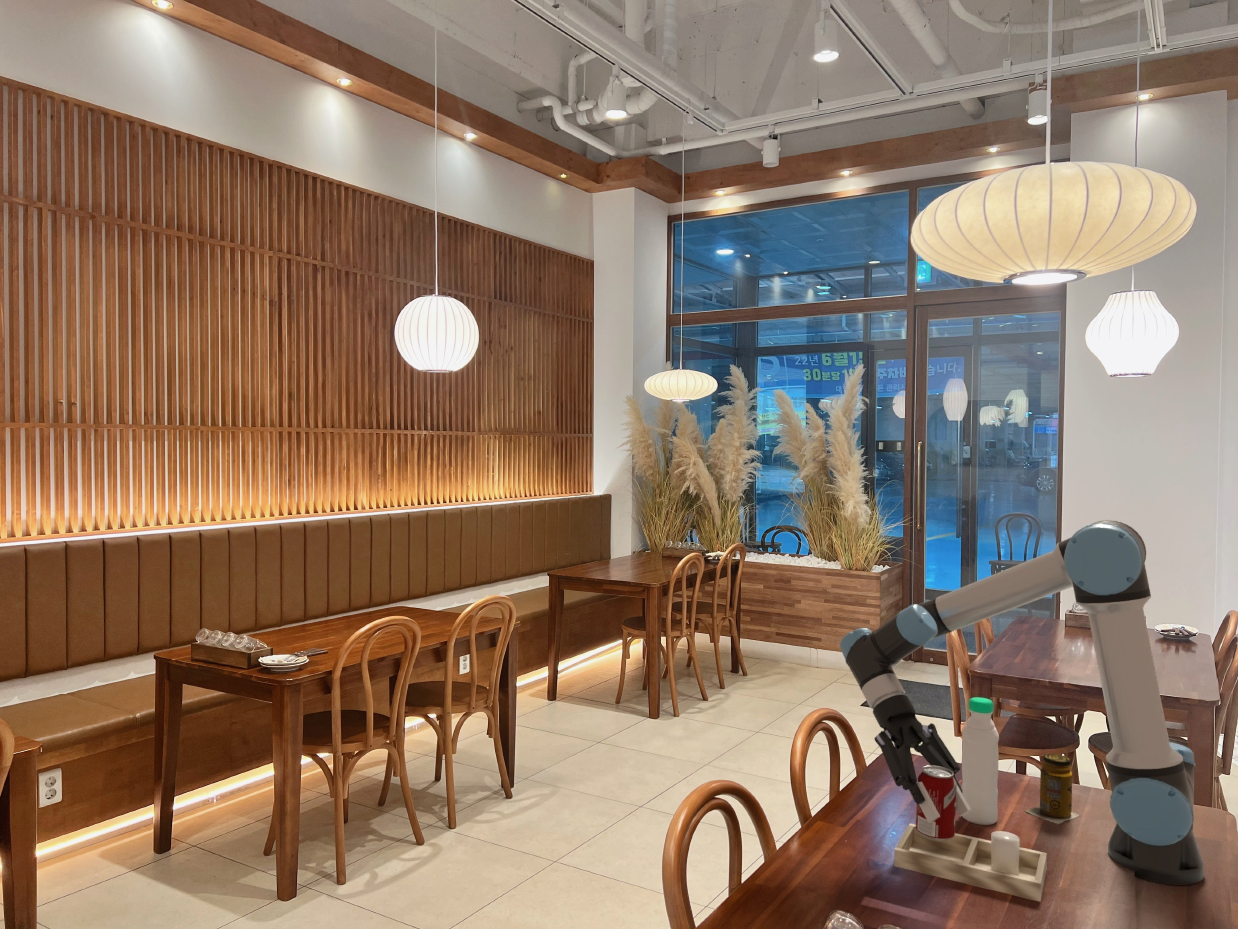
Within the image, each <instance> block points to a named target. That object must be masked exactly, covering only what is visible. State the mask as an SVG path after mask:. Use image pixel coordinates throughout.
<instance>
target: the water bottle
mask: <svg viewBox="0 0 1238 929" xmlns="http://www.w3.org/2000/svg"><path fill="white" fill-rule="evenodd" d="M968 711H969V712H970V717H969V718H968V719H967V720H966V723H965V725H964V727H963V729H962V738H963V740H962V748H961V750H962V751H961V753H962V754H961V774H962V775H961V777H962V783H961V789H962V791H963V793H962V794H963V796H964V798H965V800H966V802H967V803H968V805H969V807H970V809H971V810H970V811H969V812H967V813H966V814H964V815H963V816H962V818H963V819H964V820H965V821H967V822H969V823H971V824H975V825H981V826H989V825H993V824H995V823H997V821H998V818H999V817H998V816H999V813H998V812H999V811H998V810H999V809H998V799H999V792H998V791H999V790H998V781H999V780H998V779H999V745H998V744H999V741H1000V735H999V732H998V730H997V728H996V726H995V722H994V720H992V714H994V713H993V712H994V702H993V701H992V700H991V699H989V698H985V697H979V696H978V697H971V698H970V699H968Z"/></svg>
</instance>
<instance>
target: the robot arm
mask: <svg viewBox="0 0 1238 929" xmlns="http://www.w3.org/2000/svg"><path fill="white" fill-rule="evenodd" d="M1146 558H1147V548H1146V544H1145V542H1144V539H1143V538H1142V536H1141V535H1140V534H1139V532H1138V531H1136V530H1135V528H1133V527H1132V526H1131V525H1128V524H1126V523H1124V522H1122V521H1117V520H1109V519H1107V520H1106V519H1105V520H1099V521H1095V522H1093V523H1091V524H1088V525H1086V526H1083V527H1081V528H1080V529H1078V530H1077V531H1075V533H1073V535H1071V537H1069V538H1067V539H1065V540H1062V541H1059V542H1057V543H1056V545H1055V548H1054V549H1053V550H1052V551H1050V552H1046V553H1043V554H1041V555H1039V556H1037V557H1034V558H1031V559H1029V560H1026V561H1024V562H1022V563H1020V564H1016V565H1014V566H1012V567H1009V568H1007V569H1004V570H1002V571H999V572H997V573H993V574H992V575H989V576H987V577H985V578H982V579H980V580H977V581H974V582H972V583H969V584H966V585H964V586H962V587H960V588H956V589H954V590H953V591H949V592H947V593H945V594H942V595H939V596H938V597H936V598H933V599H930V600H928V601H924V602H920V603H917V604H915V603H914V604H910V605H909V606H907V607H906V608H904V609H902V610H900V611H899V612H898V613H897V614H896V615H894V616H893V617H891V618H890V619H889V620H887V621H886V622H885V623H884V624H883V625H881V626H879V627H878V628H877V629H875V630H873V631H872V630H871V629H870V628H866V627H860V628H856V629H854V630H853V631H850V632H848V633H847V634H845V635H844V636H843V637H842V638H841V640H840V641H839V642H840V643H839V648H840V651H841V653H842V656H843V657H844V660H845V664H846V665H847V666H848V668H849V670H850V671H851V673H852V675H853V677H854V678H855V681H856V683H857V685H858V686H859V689H860V690H861V693H862V695H863V696H864V697H863V698H864V699H865V700H866V702H867V704H868V706H869V708H870V709H871V710H872V714H873V715H874V716H873V717H874V718H875V720H876V722H877V724H878V725H879V728H881V729H883V730H881V731H879V733H878V734H877V735H876V736H875V737H874V741H875V743H876V744H877V745H878V747H879V748H880V749H881V752H882V754H883V757H884V759H885V762H886V764H887V766H888V769H889V771H890V774H891V776H892V778H893V781H894V783H895V785H896V786H897V787H902V788H903V790H904V791H908V792H910V795H911V797H912V799H913V801H914V803H915V804H916V805H917V804H919V805H920V807H921V809H922V811H923V813H924V815H925V817H926V819H927V821H928V823H932V822H934V821H935V820H936V819H937V818H939V817H940V815H939V813H938V811H937V809H936V807H935V806H934V804H933V802H932V800H931V798H930V796H929V794H928V792H927V790H926V789H925V787H924V785H923V783H922V782H918V777H917V774H916V773H917V772H916V768H915V765H914V761H913V757H912V752H911V751H912V750H911V749H914V751H915V752H917V753H919V754H921V756H922V757H923V758H924V759H925V760H926V761H927V763H928V764H929V766H940V767H944V768H947V769H949V770H951V771H952V772H953V773H954V775H953V777H954V779H955V781H956V783H957V791H956V812H957V814H958V817H963V815H964V814H966V813H967V812H969V811H970V810H971V809H970V807H969V805H968V803H967V802H966V800H965V798H964V796H963V794H962V793H963V791H962V786H961V785H960V783H959V781H958V780H957V777H956V774H958V772H960V770H961V767H960V765H959V764H958V763H957V761H956V760H955V758H954V756H953V754H952V753H951V751H949V748H948V747H947V745H946V744H945V742H944V740H942V737H940V735H939V734H938V731H937V727H936V725H935V724H934V723H929V724H928V725H926V724H922V723H921V722H920V720H918V718H917V717H916V709H915V708H914V705H913V704H912V702H911V700H910V698H909V696H908V695H905V694H906V691H905V689H904V688H903V685H902V683H901V682H900V680H899V678H898V677H897V674H896V673H895V671H894V669H893V667H892V666H894V665H895V664H898V663H899V662H900V661H901V660H903V659H904V658H906V657H907V656H909V655H911V654H912V653H913V652H915V651H917V650H918V649H919V648H921V647H923V646H925V645H927V643H929V642H930V641H932V640H934V639H937V638H939V637H942V636H944V635H947V634H950V633H952V632H955V631H957V630H961V629H963V628H966V627H968V626H970V625H973V624H977V623H979V622H981V621H984V620H987V619H989V618H993V617H995V616H998V615H1001V614H1002V613H1005V612H1009V611H1011V610H1013V609H1016V608H1020V607H1022V606H1024V605H1028V604H1030V603H1032V602H1035V601H1038V600H1041V599H1043V598H1046V597H1049V596H1052V595H1054V594H1057V593H1060V592H1063V591H1065V590H1067V589H1070V588H1073V593H1074V597H1075V604H1077V605H1078V606H1079V607H1081V608H1082V609H1084V610H1085V611H1086V612H1087V616H1088V620H1089V621H1088V622H1089V626H1090V632H1091V636H1092V637H1091V638H1092V642H1093V647H1094V653H1095V657H1096V662H1097V663H1096V664H1097V669H1098V673H1099V678H1100V684H1101V688H1102V694H1103V699H1104V700H1103V701H1104V706H1105V710H1106V711H1105V712H1106V715H1107V721H1108V725H1109V732H1110V736H1111V742H1112V749H1111V750H1110V751H1109V752H1108V753H1107V754H1106V756H1105V760H1106V761H1105V762H1106V767H1107V772H1108V777H1109V778H1108V779H1109V782H1110V788H1111V794H1110V796H1109V799H1110V800H1109V805H1110V810H1111V813H1112V816H1113V818H1114V820H1115V826H1114V828H1113V831H1112V833H1111V836H1110V838H1109V841H1108V844H1107V854H1108V856H1109V857H1110V858H1111V859H1112V860H1113V861H1114V862H1116V863H1117V864H1119V865H1120V866H1122V867H1123V868H1126V869H1128V870H1130V871H1132V872H1134V876H1135V877H1137V878H1141V879H1143V880H1146V881H1151V882H1154V883H1160V884H1165V885H1172V886H1173V885H1174V886H1189V885H1194V884H1198V883H1200V882H1202V881H1203V879H1204V871H1205V865H1204V860H1203V858H1202V855H1201V852H1200V848H1199V845H1198V842H1197V840H1196V836H1195V834H1194V817H1195V816H1194V799H1195V798H1194V793H1195V792H1194V791H1195V767H1196V762H1195V753H1194V752H1193V751H1192V749H1190V748H1189V747H1188V746H1184V745H1182V744H1179V743H1175V742H1170V738H1169V734H1168V730H1167V724H1166V718H1165V713H1164V712H1165V711H1164V709H1163V703H1162V699H1161V694H1160V687H1159V683H1158V682H1159V681H1158V677H1157V672H1156V667H1155V662H1154V657H1153V656H1154V655H1153V651H1152V647H1151V642H1150V635H1149V631H1148V626H1147V621H1146V615H1145V611H1144V607H1145V605H1146V604H1147V603H1148V601H1149V600H1150V599H1151V598H1152V595H1151V590H1150V585H1149V579H1148V575H1147V574H1148V573H1147V570H1146V563H1145V562H1146Z"/></svg>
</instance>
